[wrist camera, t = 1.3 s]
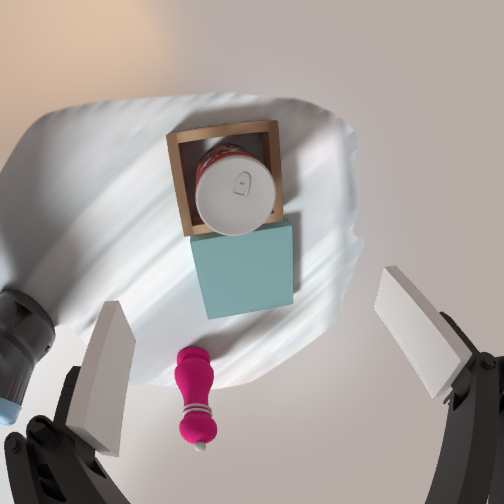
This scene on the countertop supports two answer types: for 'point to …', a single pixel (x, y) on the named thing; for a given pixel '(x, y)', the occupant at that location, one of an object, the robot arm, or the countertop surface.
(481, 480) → the robot arm
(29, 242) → the countertop surface
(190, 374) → the pepper mill
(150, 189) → the countertop surface
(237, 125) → the collar
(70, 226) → the countertop surface
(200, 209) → the canned food
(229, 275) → the plate
